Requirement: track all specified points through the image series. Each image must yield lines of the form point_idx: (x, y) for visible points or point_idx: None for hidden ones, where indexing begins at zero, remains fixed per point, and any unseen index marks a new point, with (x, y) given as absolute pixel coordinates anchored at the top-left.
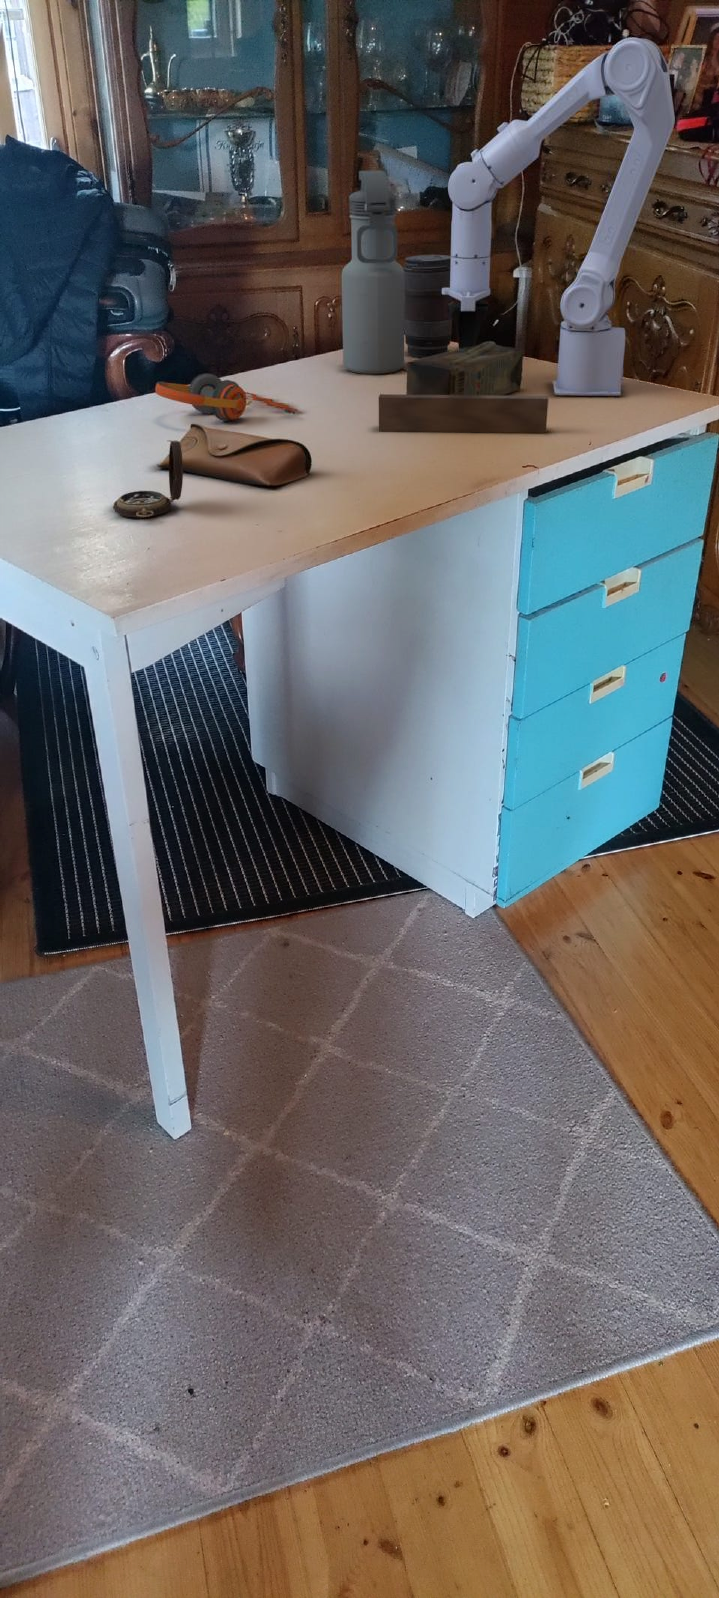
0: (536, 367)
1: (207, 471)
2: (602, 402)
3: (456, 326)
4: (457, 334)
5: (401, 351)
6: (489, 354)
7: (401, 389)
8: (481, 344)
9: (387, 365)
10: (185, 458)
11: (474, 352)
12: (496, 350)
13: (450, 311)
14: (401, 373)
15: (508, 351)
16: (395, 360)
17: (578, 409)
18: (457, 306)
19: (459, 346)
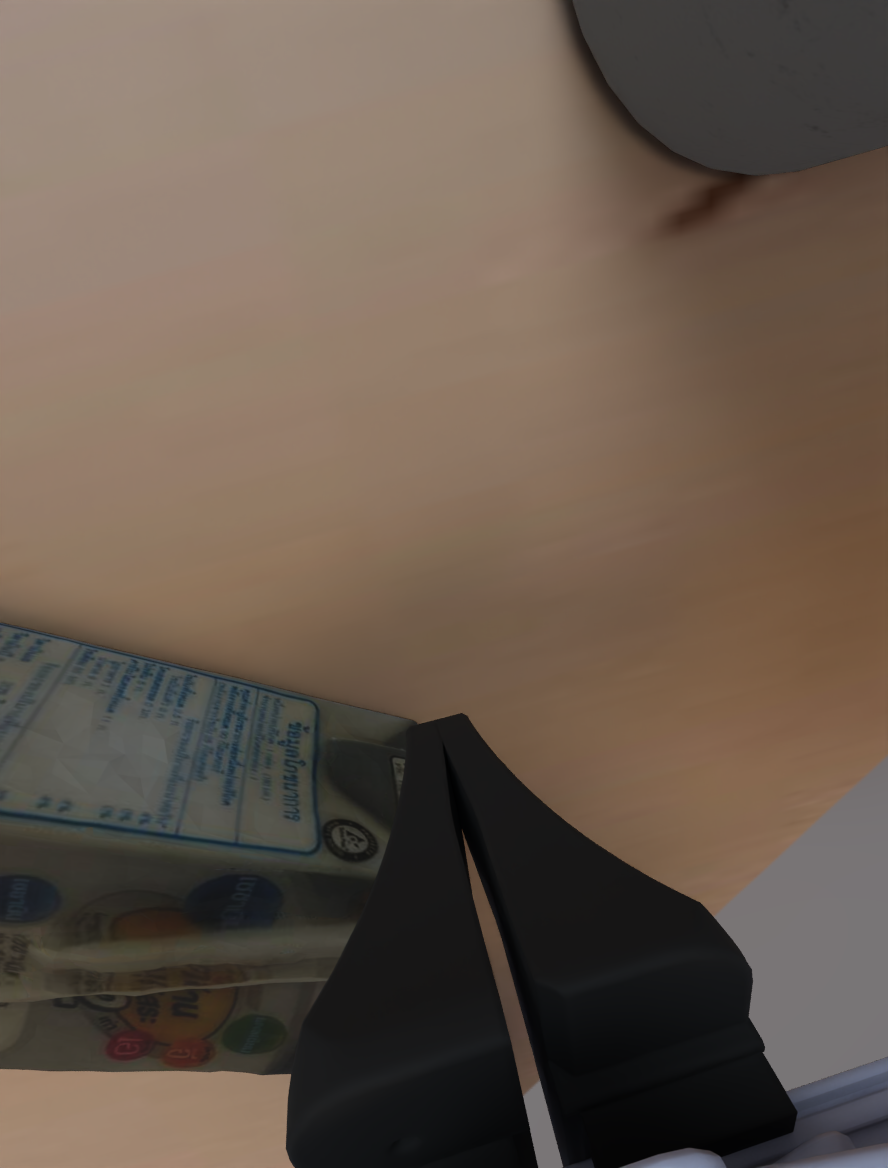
0: (765, 807)
1: None
2: (248, 1097)
3: (370, 892)
4: (394, 827)
5: (785, 145)
6: (122, 1013)
7: (135, 328)
8: (284, 956)
9: (613, 54)
10: None
11: (32, 985)
12: (257, 1005)
13: (306, 1037)
14: (627, 196)
15: (248, 1055)
16: (677, 117)
17: (109, 1087)
18: (337, 1160)
19: (406, 763)
